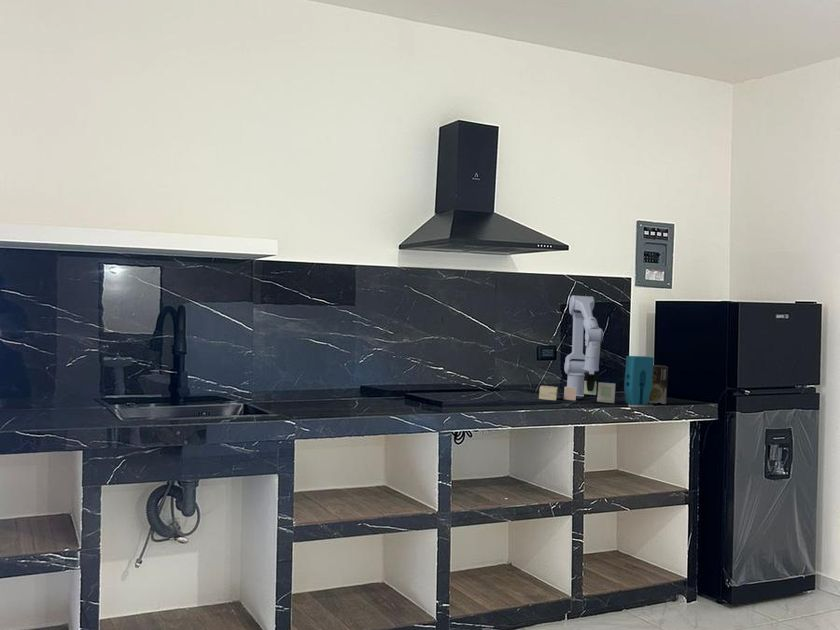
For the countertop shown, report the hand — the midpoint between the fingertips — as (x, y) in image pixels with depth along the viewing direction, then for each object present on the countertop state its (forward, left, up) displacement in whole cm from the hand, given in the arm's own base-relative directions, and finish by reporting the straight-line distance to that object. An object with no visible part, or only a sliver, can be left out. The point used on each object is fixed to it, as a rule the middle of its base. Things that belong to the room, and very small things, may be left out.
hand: (589, 390), depth 364 cm
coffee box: (-20, +28, -5) cm, 35 cm away
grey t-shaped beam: (-7, +7, -5) cm, 11 cm away
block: (-10, +20, -5) cm, 23 cm away
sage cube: (0, 0, -2) cm, 2 cm away
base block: (-1, -17, -5) cm, 18 cm away
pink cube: (-6, -8, -5) cm, 11 cm away
